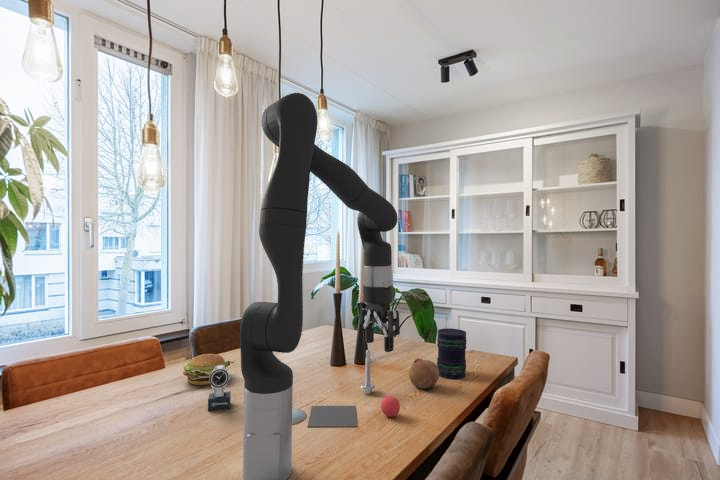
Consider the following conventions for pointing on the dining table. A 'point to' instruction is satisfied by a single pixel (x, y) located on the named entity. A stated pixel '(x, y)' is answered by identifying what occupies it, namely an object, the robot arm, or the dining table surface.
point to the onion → (423, 374)
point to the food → (203, 368)
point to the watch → (219, 389)
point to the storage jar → (451, 353)
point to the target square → (332, 416)
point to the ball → (390, 406)
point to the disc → (297, 415)
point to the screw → (367, 376)
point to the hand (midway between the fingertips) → (378, 346)
